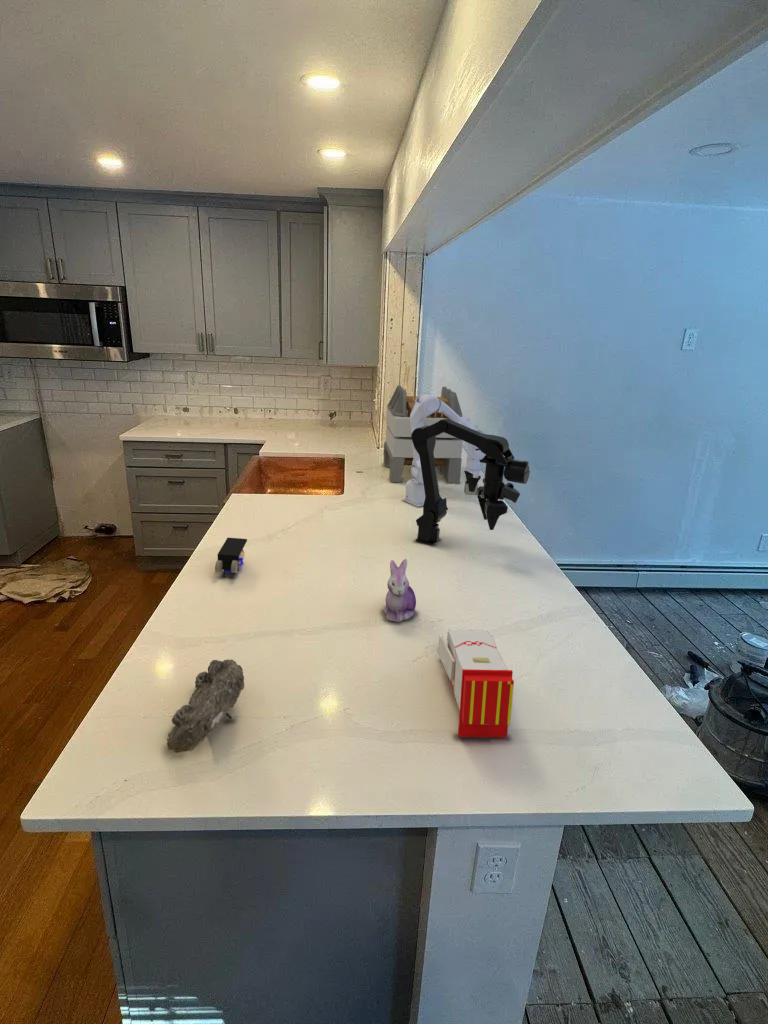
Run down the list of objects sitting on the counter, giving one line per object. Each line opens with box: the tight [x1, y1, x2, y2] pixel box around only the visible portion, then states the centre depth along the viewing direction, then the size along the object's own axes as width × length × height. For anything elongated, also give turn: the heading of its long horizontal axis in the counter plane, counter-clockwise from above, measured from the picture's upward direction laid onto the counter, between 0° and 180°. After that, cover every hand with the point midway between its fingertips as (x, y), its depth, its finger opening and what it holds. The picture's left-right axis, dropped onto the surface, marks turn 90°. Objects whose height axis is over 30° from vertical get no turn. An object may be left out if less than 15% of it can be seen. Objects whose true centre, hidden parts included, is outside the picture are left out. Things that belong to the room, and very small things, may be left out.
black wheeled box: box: [214, 537, 248, 578], centre depth 166 cm, size 7×8×15 cm
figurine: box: [384, 558, 417, 623], centre depth 145 cm, size 9×10×15 cm
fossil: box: [166, 658, 245, 754], centre depth 106 cm, size 22×10×15 cm
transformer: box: [383, 384, 464, 484], centre depth 268 cm, size 34×33×41 cm
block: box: [463, 480, 479, 496], centre depth 236 cm, size 5×4×5 cm
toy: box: [437, 628, 515, 738], centre depth 117 cm, size 12×13×30 cm
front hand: (488, 524), depth 182 cm, fingers open, 9 cm apart
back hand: (470, 489), depth 237 cm, fingers closed on block, 4 cm apart
